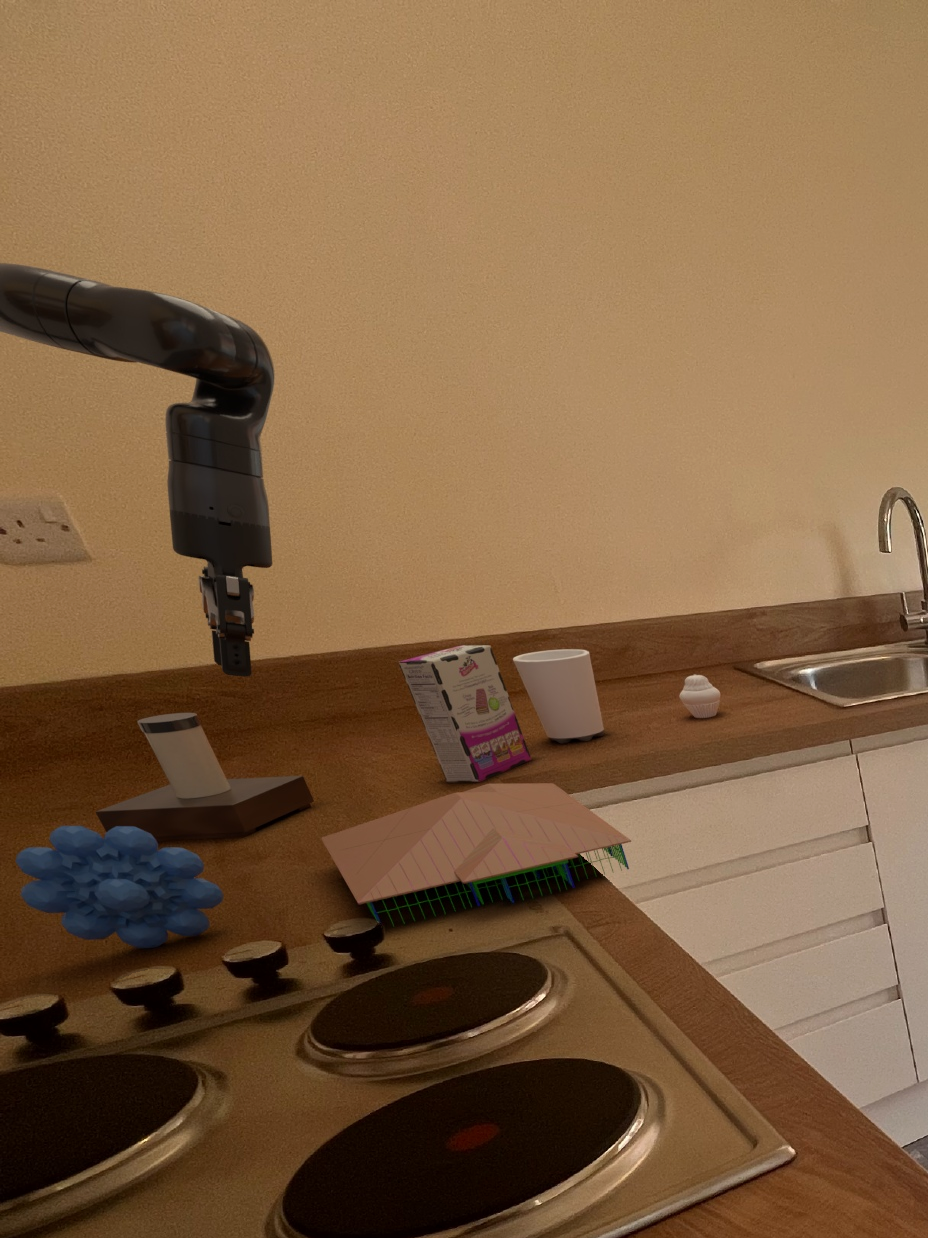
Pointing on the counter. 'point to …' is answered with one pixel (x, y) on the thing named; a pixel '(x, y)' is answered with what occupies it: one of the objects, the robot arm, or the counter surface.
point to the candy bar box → (466, 712)
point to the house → (471, 842)
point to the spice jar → (185, 755)
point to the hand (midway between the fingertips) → (232, 670)
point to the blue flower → (118, 885)
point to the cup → (562, 693)
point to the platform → (210, 809)
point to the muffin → (700, 696)
